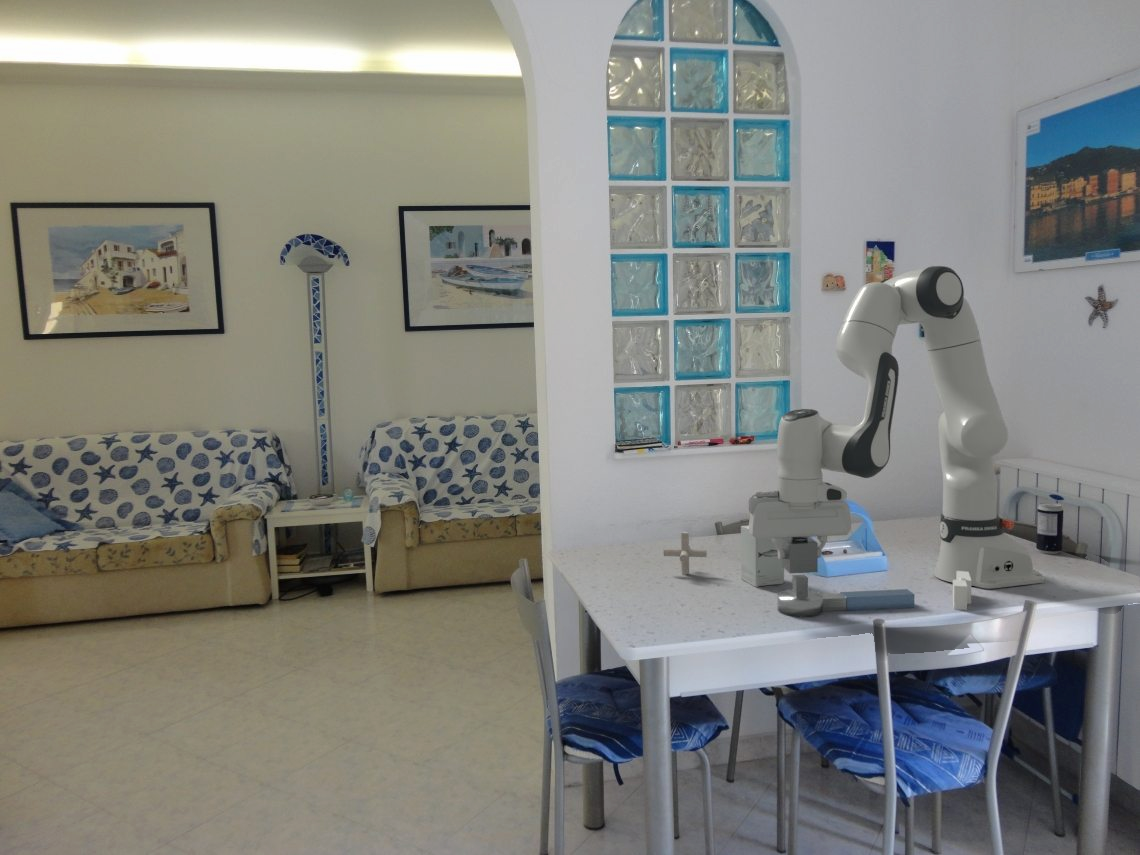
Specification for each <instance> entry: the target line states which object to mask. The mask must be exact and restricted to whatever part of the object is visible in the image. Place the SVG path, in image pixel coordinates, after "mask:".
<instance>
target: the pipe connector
mask: <svg viewBox="0 0 1140 855" xmlns="http://www.w3.org/2000/svg"><path fill="white" fill-rule="evenodd" d="M689 533H690V532H689V531H681V532H680V548H663V556H664V557H679V561H680V563H681V566H680V567H681V575H682V574H683V575H684V576H688V575H690V558H691V557H692V558H707V556H708V555H707V549H701V548H699V549H698V548H696V549H695V548H694V549H693V548H692V549H691V546H690V544H689V542H690V537H689V536H690V535H689ZM687 574H688V575H687ZM683 575H682V576H683Z"/></svg>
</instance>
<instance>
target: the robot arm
mask: <svg viewBox="0 0 1140 855" xmlns="http://www.w3.org/2000/svg"><path fill="white" fill-rule="evenodd" d="M964 292H965V291H964V285H963V282H962V279H961V278H960V276H959V274H958V273H957V272H956V271H955V270H954V269H952V268H951V267H949V266H944V265H943V266H942V265H931V266H929V267H926V268H920V269H913V270H911V271H909V270H908V271H906V272H904V273H901V274H899V275H897V276H893V277H891V278H886V279H883V280H881V281H875V282H869V283H866V284H864V285H862V286H861V287H860V288H859V289H858V290H857V291H856V294H855V296H854V297H853V299H852V300H851V302H850V304H849V306H848V309H847V311H846V313H845V315H844V317H843V320H842V323H841V325H840V328H839V332H838V334H837V337H836V342H835V352H836V356H837V358H838V359H839V361H840V362H841V364H842V365H843V366H844V367H846V368H847V369H849V370H850V371H851V372H853V373H854V374H856V375H857V376H860V377H861V378H863V379H865V380H866V381H867V386H868V389H867V395H866V400H865V401H866V402H865V406H864V412H863V418H862V421H860V423H859V424H857V425H848V424H839V423H834V422H831V421H828V420H826V419H824V418H823V417H822V416H820V412H819V411H818V410H816V409H812V408H800V409H794V410H790V411H788V412H785V413H784V414H783V415H782V416H781V418H780V421H779V424H778V429H777V431H778V432H777V441H776V442H777V444H776V446H777V447H776V453H777V454H776V455H777V459H778V463H779V464H778V470H777V473H776V474H777V475H776V478H777V479H776V481H777V482H776V483H777V486H776V487H777V490H775V491H774V490H773V491H766V492H765V491H758V492H755V494H753V495H751V496H750V497H749V500H748V511H749V519H748V520H749V522H748V526H749V532H750V534H751V535H752V536H753V537H754V538H756V539H762V538H772V541H773V543H774V545H775V546H776V548H777V549H778V558H779V559H787V550H786V549H782V548H781V546H780V544H779V543H782V538H788V537H810V538H812V537H816V539H817V540H818V542H817V543H818V558H822V550H823V549H824V547H825V545H826V543H828V537H835V536H838V537H839V536H848V535H849V533H851V531H852V517H851V516H852V515H851V514H852V513H851V508H850V506H849V504H848V502H846V499H848V498H847V497H848V493H847V491H846V490H845V489H843V488H842V487H840V486H837V485H836V484H833V483H830V482H826V481H825V482H823V481H824V480H823V472H822V470H827V471H831V472H838V473H845V474H848V475H853V476H855V477H860V478H863V479H869V478H872V477H873V478H874V477H875V476H876V475H877V474H879V473H880V472H882V471H883V470H884V468H885V467H886V466H887V464H888V463H889V460H890V456H891V431H892V423H893V419H894V418H893V417H894V410H895V404H896V398H897V391H898V384H899V375H900V373H899V372H900V370H899V368H900V367H899V364H898V360H897V359H896V357H895V356H894V355H893V344H894V341H895V337H896V335H897V331H898V326H900V325H911V324H918V323H919V324H920V326H921V327H922V329H923V333H924V335H923V336H924V341H925V348H926V352H927V357H928V361H929V366H930V371H931V376H932V382H933V385H934V388H935V390H936V392H937V395H938V397H939V401H940V404H941V406H942V410H943V412H942V413H941V414H940V416H939V418H938V422H937V430H938V440H939V442H938V443H939V451H940V452H939V454H940V455H939V456H940V464H941V471H942V472H941V473H942V513H941V514H940V519H939V521H940V522H939V531H940V532H939V535H940V540H941V541H940V546H939V547H940V548H939V553H938V559H937V563H936V566H935V569H934V572H933V575H934V577H936V578H937V579H939V580H942V581H945V582H948V583H952V584H953V580H956V571H966V572H969V575H970V578H971V587H972V586H973V587H977V588H981V589H988V590H989V589H991V590H992V589H1000V588H1009V587H1015V586H1016V587H1017V586H1018V587H1019V586H1026V585H1035V584H1041V583H1044V582H1045V578H1044V575H1043V574H1042V573H1041V572H1039V571H1037V570H1036V569H1033V568H1034V567H1033V560H1032V557H1031V554H1030V552H1029V551H1028V550H1027V549H1026V548H1025V547H1023V546H1022V545H1021V544H1019V543H1018V542H1017V541H1016V540H1014V539H1013V538H1012V537H1010V536H1009V535H1007V533H1005V530H1004V528H1005V529H1007V530H1013V528H1014V527H1015V522H1014V521H1013V520H1011V519H1009V518H1004V519H1003V518H1001V517H999V516H997V515H998V514H997V513H998V512H997V511H998V479H997V477H996V472H995V466H994V458H993V456H996V455H998V454H999V453H1000V452H1002V450H1003V449H1004V448H1005V447H1006V444H1007V443H1008V438H1009V430H1008V427H1007V425H1006V423H1005V420H1004V418H1003V415H1002V411H1001V408H1000V404H999V402H998V399H997V397H996V393H995V390H994V388H993V385H992V382H991V380H990V377H989V373H988V368H987V363H986V359H985V355H984V354H985V353H984V350H983V344H982V340H981V334H980V332H979V328H978V324H977V321H976V318H975V316H974V313H973V310H972V308H971V306H970V304H969V302H968V300H967V299H966V298H965V297H964V296H965V293H964Z"/></svg>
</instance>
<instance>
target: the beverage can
mask: <svg viewBox="0 0 1140 855" xmlns="http://www.w3.org/2000/svg"><path fill="white" fill-rule="evenodd" d="M1038 505H1039V506H1038V507H1037V509H1036V538H1035V539H1036V542H1035V547H1036V549H1037V550H1038V551H1039V552H1040V553H1042V554H1047V555H1057V554H1059V553H1060V552H1061V551H1062V550H1063V537H1064V536H1063V535H1064V534H1063V533H1064V509H1063V506H1062V504H1061V503H1058V502H1057V503H1056V502H1040V503H1039V504H1038Z"/></svg>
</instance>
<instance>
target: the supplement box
mask: <svg viewBox="0 0 1140 855" xmlns="http://www.w3.org/2000/svg"><path fill="white" fill-rule="evenodd" d="M779 544H780V546H781V548H782V543H779ZM740 579H741V580H743V581H744V582H745V583H748V584H749V585H751V586H753V587H754V586H755V588H758V587H762V586H771V585H772V586H773V585H783V584H785V568H784V567H783V566H782V559H779V558H778V549H777V548H776V546H775V545H774V543H773V541H772V538H762V539H756V538H754V537H753V536H752V535H751V534H750V532H749V525H741V526H740Z"/></svg>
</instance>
